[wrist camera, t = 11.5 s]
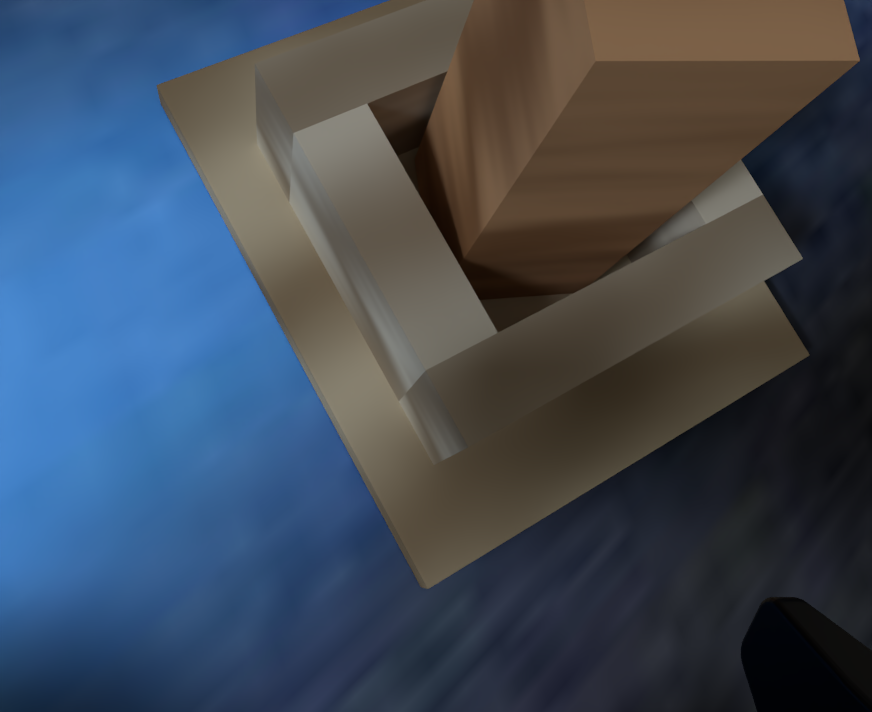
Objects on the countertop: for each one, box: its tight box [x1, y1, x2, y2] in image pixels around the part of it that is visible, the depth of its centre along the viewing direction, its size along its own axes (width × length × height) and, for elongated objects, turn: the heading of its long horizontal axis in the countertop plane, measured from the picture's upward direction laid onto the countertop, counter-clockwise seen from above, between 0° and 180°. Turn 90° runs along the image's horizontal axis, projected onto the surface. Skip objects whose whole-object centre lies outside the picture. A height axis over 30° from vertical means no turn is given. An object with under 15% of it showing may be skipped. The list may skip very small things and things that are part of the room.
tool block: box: [157, 0, 809, 589], centre depth 23 cm, size 16×14×5 cm
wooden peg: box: [415, 0, 860, 300], centre depth 18 cm, size 4×4×12 cm
